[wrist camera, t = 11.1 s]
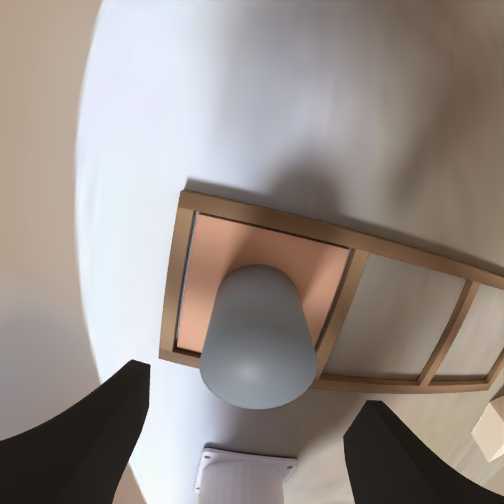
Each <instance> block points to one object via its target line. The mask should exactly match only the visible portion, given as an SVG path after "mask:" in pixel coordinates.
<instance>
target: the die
mask: <svg viewBox="0 0 504 504" xmlns="http://www.w3.org/2000/svg"><path fill="white" fill-rule="evenodd" d="M471 434H472V436H473V437H474V439H475V440H476V442H477V444H478V445H479V447H480V449H481V451H482V452H483V454H484V456H485V458H486V459H487V461H488V462H490V461H492V460H494V459H495V458H497V457H499V456H501V455H503V454H504V396H501V397H499V398H497V399H495V400H492V401H490V402H489V403H488V405H487V407H486V408H485V410H484V412H483V414H482V415H481V417H480V419H479V420H478V422H477V424H476V425H475V427H474V428H473V430H472V432H471Z"/></svg>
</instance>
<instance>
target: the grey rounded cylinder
mask: <svg viewBox="0 0 504 504" xmlns="http://www.w3.org/2000/svg"><path fill="white" fill-rule="evenodd" d="M199 366H200V373H201V377H202V379H203V381H204V383H205V385H206V386H207V387H208V389H209V390H210V391H211V392H212V393H213V394H214V395H216V396H217V397H218V398H220V399H221V400H223V401H225V402H227V403H229V404H232V405H235V406H238V407H242V408H248V409H268V408H274V407H278V406H281V405H284V404H287V403H289V402H291V401H293V400H294V399H296V398H298V397H299V396H300V395H302V394H303V393H304V392H305V391H306V390H307V389H308V388H309V386H310V385H311V384H312V382H313V380H314V378H315V376H316V372H317V366H318V361H317V356H316V352H315V349H314V345H313V342H312V338H311V335H310V331H309V328H308V325H307V321H306V318H305V314H304V311H303V308H302V304H301V301H300V298H299V295H298V291H297V288H296V286H295V284H294V283H293V281H292V280H291V279H290V278H289V277H288V275H286V274H285V273H284V272H282V271H281V270H279V269H277V268H275V267H272V266H268V265H263V264H253V265H247V266H243V267H240V268H238V269H236V270H234V271H233V272H231V273H230V274H229V275H228V276H226V277H225V279H224V280H223V281H222V283H221V284H220V286H219V288H218V291H217V294H216V298H215V302H214V306H213V310H212V313H211V317H210V321H209V325H208V329H207V333H206V337H205V341H204V345H203V349H202V353H201V357H200V365H199Z"/></svg>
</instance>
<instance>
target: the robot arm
mask: <svg viewBox="0 0 504 504" xmlns="http://www.w3.org/2000/svg"><path fill="white" fill-rule="evenodd" d="M149 390H150V365H149V364H146V363H142V362H139V361H136V360H133V359H132V360H130V361H129V362H128V363H126V364H125V365H124V366H123V367H122V368H121V369H120V370H119V371H117V372H116V373H115V374H114V375H113V376H112V377H110V378H109V379H108V380H107V381H105V382H104V383H103V384H102V385H100V386H99V387H98V388H97V389H95V390H94V391H93V392H91V393H90V394H89V395H87V396H86V397H85V398H83V399H82V400H80V401H79V402H77V403H76V404H75V405H73V406H71V407H70V408H68V409H67V410H65V411H64V412H62V413H61V414H59V415H57V416H56V417H54V418H52V419H50V420H48V421H47V422H45V423H43V424H41V425H39V426H37V427H35V428H32V429H30V430H28V431H25V432H23V433H21V434H19V435H16V436H14V437H11V438H8V439H5V440H1V441H0V504H112V502H113V498H114V494H115V491H116V489H117V486H118V484H119V481H120V479H121V476H122V474H123V471H124V470H125V467H126V465H127V463H128V461H129V458H130V456H131V454H132V452H133V449H134V447H135V445H136V443H137V440H138V438H139V436H140V434H141V431H142V428H143V425H144V422H145V418H146V415H147V412H148V409H149ZM343 440H344V453H345V461H346V466H347V470H348V475H349V479H350V483H351V488H352V492H353V496H354V501H355V504H504V496H501V495H499V494H496V493H494V492H492V491H490V490H487V489H485V488H483V487H481V486H480V485H478V484H476V483H474V482H472V481H471V480H469V479H467V478H466V477H464V476H463V475H461V474H460V473H458V472H457V471H456V470H454V469H453V468H452V467H450V466H449V465H448V464H446V463H445V462H444V461H443V460H441V459H440V458H439V457H438V456H437V455H436V454H435V453H434V452H432V451H431V450H430V449H429V448H428V447H427V446H426V445H425V444H424V443H423V442H422V441H421V440H420V439H419V438H418V437H417V436H416V435H415V434H414V433H413V432H412V431H411V430H410V429H409V428H408V427H407V426H406V425H405V424H404V423H403V422H402V421H401V420H400V419H399V417H398V416H397V415H396V414H395V413H394V412H393V411H392V410H391V409H390V408H389V407H388V406H387V405H386V404H385V403H383V402H382V401H374V400H367V401H366V403H365V404H364V406H363V407H362V409H361V411H360V412H359V414H358V415H357V417H356V418H355V420H354V421H353V423H352V424H351V426H350V427H349V429H348V430H347V432H346V433H345V434H344V436H343ZM297 464H298V463H297V460H296V459H291V458H278V457H267V456H258V455H249V454H242V453H235V452H229V451H223V450H217V449H212V448H204V449H203V450H202V455H201V459H200V463H199V467H198V471H197V476H196V480H195V484H194V488H193V492H194V493H197V494H199V497H198V503H197V504H284V497H283V483H284V482H285V481H286V479H287V478H288V477H289V475H290V474H291V473H292V471H293V470H294V468H295V467H296V466H297Z"/></svg>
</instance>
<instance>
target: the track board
mask: <svg viewBox="0 0 504 504" xmlns="http://www.w3.org/2000/svg"><path fill="white" fill-rule="evenodd" d="M195 211H198V212H202V213H207V214H212V215H216V216H221V217H225V218H230V219H234V220H238V221H243V222H247V223H251V224H256V225H260V226H264V227H269V228H273V229H277V230H281V231H286V232H290V233H294V234H298V235H302V236H306V237H310V238H315V239H319V240H323V241H327V242H331V243H335V244H339V245H343V246H347V247H350V248H352V249H351V252H350V255H349V258H348V261H347V264H346V267H345V270H344V273H343V276H342V279H341V282H340V285H339V287H338V290H337V293H336V296H335V298H334V301H333V304H332V307H331V309H330V312H329V315H328V317H327V320H326V322H325V325H324V327H323V330H322V333H321V335H320V338H319V340H318V342H317V339H318V337H319V334H320V332H321V329H322V326H323V324H324V321H325V319H326V316H327V313H328V311H329V308H330V305H331V303H332V300H333V297H334V294H335V292H336V289H337V286H338V283H339V280H340V277H341V275H342V272H343V269H344V266H345V263H346V260H347V257H348V254H349V249H348V248H345V247H341V246H337V245H333V244H329V243H325V242H321V241H317V240H313V239H308V238H304V237H300V236H296V235H292V234H288V233H284V232H279V231H275V230H271V229H267V228H262V227H258V226H254V225H249V224H245V223H240V222H236V221H232V220H227V219H223V218H218V217H214V216H209V215H205V214H200V213H199V214H198V217H197V222H196V228H195V233H194V238H193V244H192V250H191V255H190V261H189V267H188V273H187V280H186V286H185V292H184V299H183V306H182V312H181V320H180V327H179V334H178V342H177V347H176V346H175V338H176V330H177V322H178V315H179V307H180V300H181V294H182V287H183V280H184V274H185V268H186V262H187V256H188V250H189V244H190V238H191V233H192V227H193V222H194V217H195ZM369 253H374V254H378V255H381V256H385V257H389V258H393V259H396V260H400V261H404V262H408V263H411V264H415V265H419V266H422V267H426V268H429V269H433V270H437V271H440V272H444V273H447V274H451V275H454V276H458V277H461V278H465V279H467V282H466V284H465V287H464V289H463V292H462V294H461V296H460V299H459V301H458V303H457V305H456V308H455V310H454V312H453V314H452V316H451V318H450V321H449V323H448V325H447V327H446V329H445V331H444V333H443V335H442V337H441V339H440V341H439V342H438V344H437V346H436V348H435V350H434V352H433V354H432V355H431V357H430V359H429V361H428V363H427V364H426V366H425V368H424V369H423V371H422V373H421V374H420V376H419V378H418V379H417V381H407V380H386V379H370V378H358V377H347V376H337V375H328V374H321V373H322V371H323V369H324V366H325V364H326V362H327V360H328V358H329V355H330V353H331V351H332V349H333V346H334V344H335V342H336V340H337V337H338V335H339V332H340V330H341V328H342V325H343V323H344V320H345V318H346V315H347V313H348V310H349V308H350V305H351V303H352V300H353V298H354V295H355V292H356V290H357V287H358V284H359V282H360V279H361V276H362V273H363V270H364V268H365V265H366V262H367V259H368V256H369ZM253 264H263V265H268V266H272V267H275V268H277V269H279V270H281V271H282V272H284V273H285V274H286V275H288V277H289V278H290V279H291V280H292V281H293V283H294V284H295V286H296V288H297V291H298V295H299V298H300V301H301V304H302V308H303V311H304V314H305V318H306V321H307V325H308V328H309V331H310V335H311V338H312V342H313V345H314V347H315V344H316V342H317V345H316V347H315V352H316V356H317V361H318V366H317V372H316V376H315V378H314V380H313V382H312V384H311V385H310V386H309V388H317V389H326V390H337V391H350V392H366V393H392V394H433V393H457V392H472V391H483V390H488V389H489V388H490V386H491V385H492V383H493V382H494V380H495V379H496V377H497V376H498V374H499V372H500V371H501V369H502V367H503V366H504V349H503V350H502V352H501V354H500V356H499V358H498V359H497V361H496V363H495V364H494V366H493V368H492V369H491V371H490V373H489V374H488V376H487V377H486V379H485V380H470V381H431V379H432V378H433V376H434V374H435V373H436V371H437V369H438V368H439V366H440V364H441V363H442V361H443V359H444V357H445V356H446V354H447V352H448V350H449V348H450V347H451V345H452V343H453V341H454V339H455V337H456V335H457V333H458V331H459V329H460V327H461V325H462V323H463V321H464V319H465V317H466V315H467V313H468V310H469V308H470V306H471V304H472V302H473V299H474V297H475V295H476V292H477V290H478V287H479V285H480V283H482V284H485V285H488V286H492V287H495V288H498V289H502V290H504V277H502V276H500V275H497V274H494V273H491V272H488V271H485V270H482V269H479V268H476V267H473V266H471V265H468V264H464V263H461V262H458V261H455V260H452V259H449V258H446V257H443V256H440V255H437V254H433V253H430V252H427V251H424V250H420V249H417V248H414V247H411V246H407V245H404V244H401V243H397V242H394V241H390V240H387V239H383V238H380V237H376V236H373V235H369V234H366V233H362V232H359V231H355V230H351V229H348V228H344V227H340V226H336V225H333V224H329V223H325V222H321V221H317V220H313V219H310V218H306V217H302V216H298V215H294V214H290V213H286V212H281V211H277V210H273V209H269V208H265V207H261V206H256V205H252V204H248V203H243V202H239V201H234V200H230V199H225V198H221V197H216V196H212V195H207V194H202V193H197V192H193V191H188V190H182V191H181V192H180V197H179V203H178V208H177V214H176V220H175V226H174V232H173V238H172V245H171V251H170V258H169V265H168V272H167V280H166V288H165V296H164V305H163V314H162V324H161V334H160V346H159V359H163V360H167V361H170V362H174V363H178V364H182V365H186V366H190V367H194V368H199V369H200V366H199V365H200V357H201V353H202V349H203V345H204V341H205V337H206V333H207V329H208V325H209V321H210V317H211V313H212V310H213V306H214V302H215V298H216V294H217V291H218V288H219V286H220V284H221V283H222V281H223V280H224V279H225V277H226V276H228V275H229V274H230V273H231V272H233V271H234V270H236V269H238V268H240V267H243V266H247V265H253Z"/></svg>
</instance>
